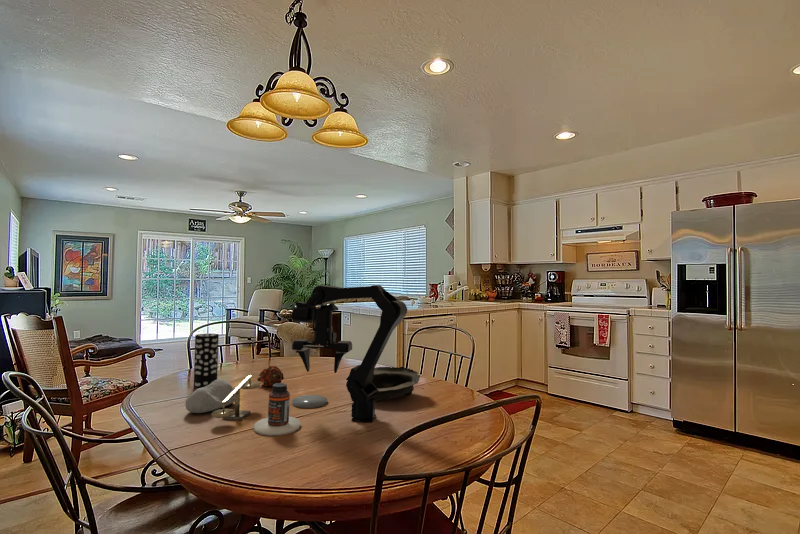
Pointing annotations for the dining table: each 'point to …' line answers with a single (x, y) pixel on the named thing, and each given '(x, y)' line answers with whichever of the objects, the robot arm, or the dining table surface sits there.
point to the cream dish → (276, 427)
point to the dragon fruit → (271, 376)
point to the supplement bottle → (278, 405)
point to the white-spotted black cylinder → (205, 359)
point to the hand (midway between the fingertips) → (321, 372)
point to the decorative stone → (209, 397)
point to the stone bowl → (394, 382)
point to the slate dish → (309, 401)
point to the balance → (236, 402)
